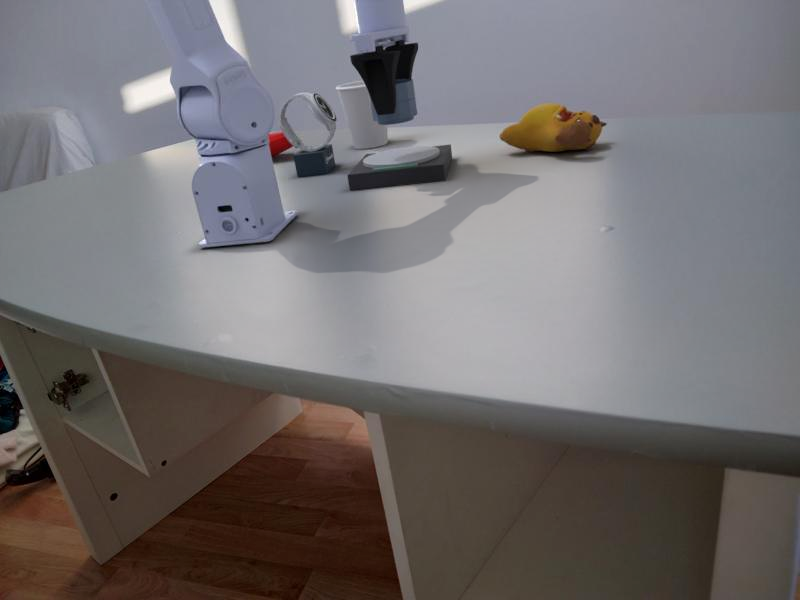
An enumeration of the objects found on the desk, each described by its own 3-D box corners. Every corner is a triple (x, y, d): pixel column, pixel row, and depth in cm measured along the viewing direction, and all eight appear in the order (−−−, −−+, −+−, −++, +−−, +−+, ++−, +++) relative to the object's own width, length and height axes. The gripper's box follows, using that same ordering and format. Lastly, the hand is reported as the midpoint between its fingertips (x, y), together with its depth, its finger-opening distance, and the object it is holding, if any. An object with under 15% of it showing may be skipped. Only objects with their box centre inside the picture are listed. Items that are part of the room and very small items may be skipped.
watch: (339, 172, 91) (325, 92, 87) (286, 178, 93) (269, 99, 88) (348, 163, 96) (335, 87, 92) (297, 169, 98) (281, 94, 93)
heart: (241, 167, 114) (228, 174, 105) (232, 144, 113) (218, 148, 104) (304, 146, 114) (297, 151, 104) (296, 123, 112) (287, 125, 103)
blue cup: (426, 115, 81) (421, 77, 79) (402, 124, 77) (397, 84, 75) (390, 117, 84) (384, 81, 82) (365, 126, 80) (359, 88, 78)
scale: (445, 180, 78) (443, 160, 77) (349, 190, 80) (346, 170, 79) (452, 158, 89) (450, 140, 88) (368, 168, 91) (365, 150, 90)
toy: (553, 110, 92) (638, 112, 79) (544, 156, 93) (627, 164, 81) (493, 96, 86) (574, 95, 74) (484, 145, 87) (563, 152, 75)
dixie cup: (367, 139, 113) (358, 80, 109) (405, 139, 108) (397, 77, 104) (336, 150, 107) (325, 88, 103) (374, 150, 102) (364, 85, 98)
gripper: (365, -6, 82) (382, 103, 87) (320, -4, 70) (343, 123, 75) (418, -16, 80) (432, 97, 85) (382, -15, 67) (400, 117, 73)
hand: (394, 109), depth 80 cm, fingers closed on blue cup, 6 cm apart
